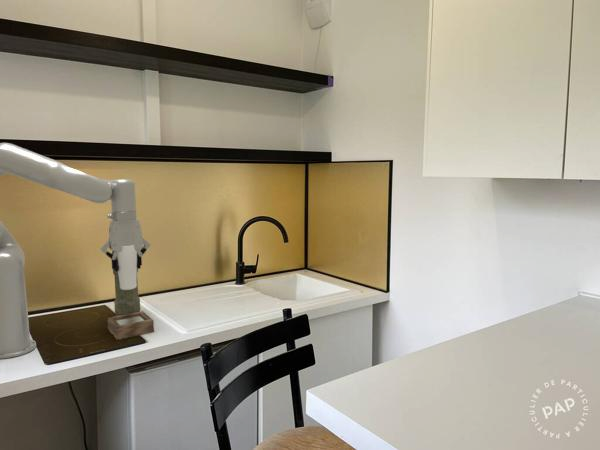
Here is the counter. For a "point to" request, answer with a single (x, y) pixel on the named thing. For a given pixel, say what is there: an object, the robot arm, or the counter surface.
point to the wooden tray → (130, 325)
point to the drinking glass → (127, 267)
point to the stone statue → (125, 298)
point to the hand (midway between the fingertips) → (127, 268)
